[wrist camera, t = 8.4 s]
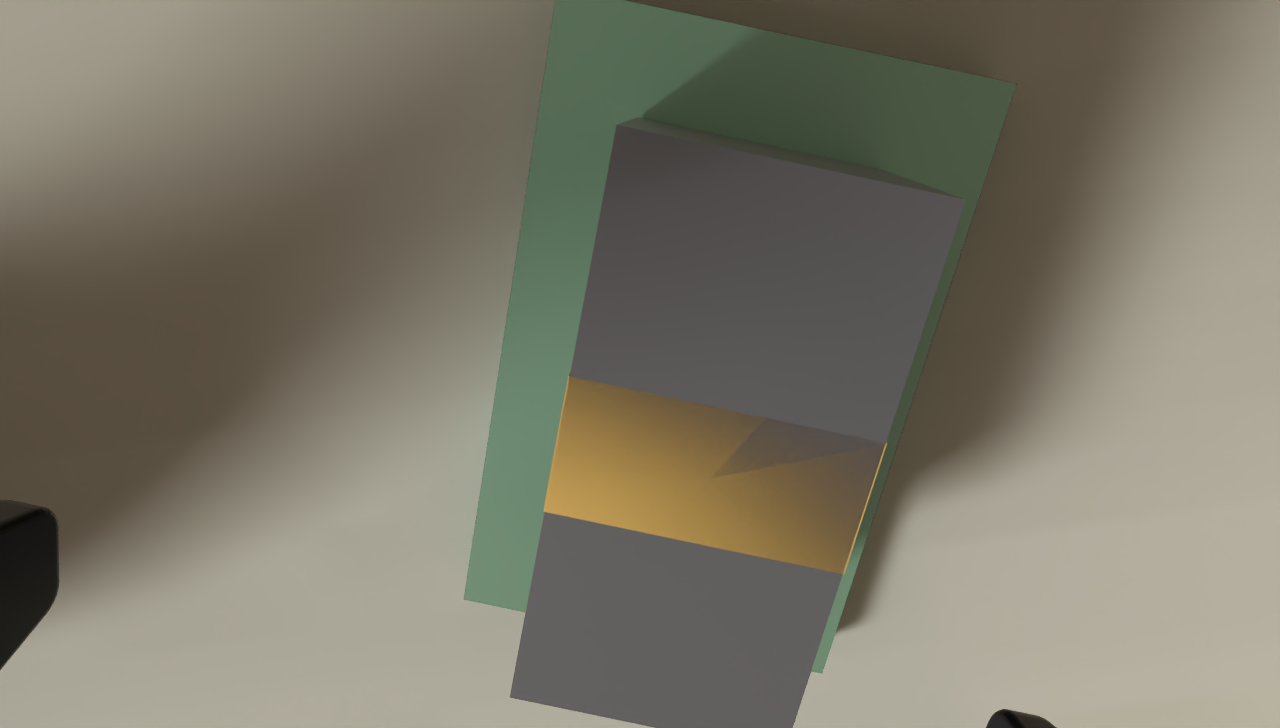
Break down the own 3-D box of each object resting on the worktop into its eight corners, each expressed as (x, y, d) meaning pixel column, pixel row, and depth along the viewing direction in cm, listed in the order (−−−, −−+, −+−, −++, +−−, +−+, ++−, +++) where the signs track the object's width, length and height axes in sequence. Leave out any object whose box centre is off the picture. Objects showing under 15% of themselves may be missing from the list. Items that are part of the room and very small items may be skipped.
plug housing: (553, 549, 19) (508, 696, 14) (636, 117, 16) (614, 124, 11) (761, 593, 19) (784, 754, 15) (885, 170, 16) (967, 199, 11)
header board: (476, 572, 21) (426, 683, 17) (566, -6, 17) (528, -40, 13) (815, 642, 21) (844, 768, 17) (994, 84, 17) (1090, 79, 13)
